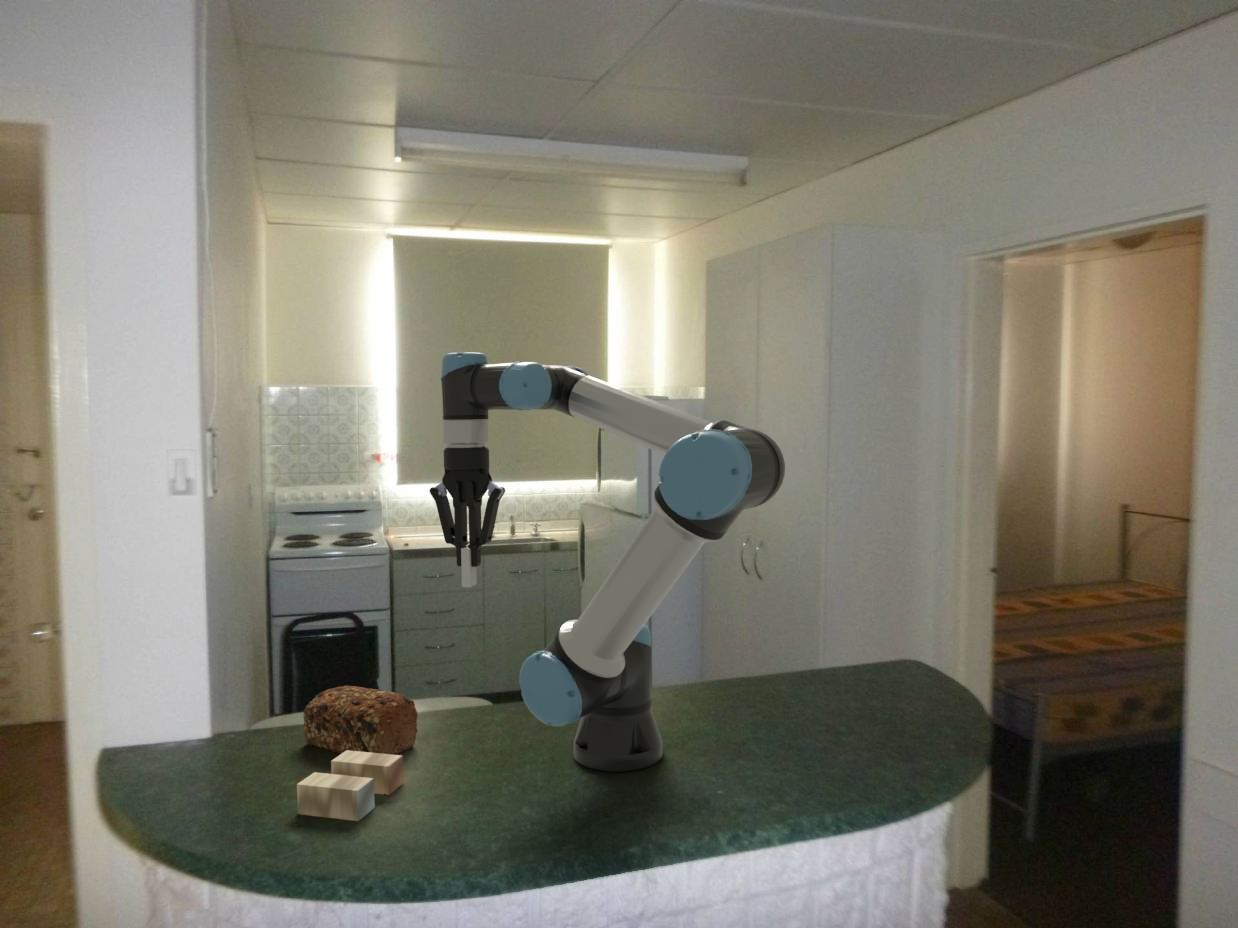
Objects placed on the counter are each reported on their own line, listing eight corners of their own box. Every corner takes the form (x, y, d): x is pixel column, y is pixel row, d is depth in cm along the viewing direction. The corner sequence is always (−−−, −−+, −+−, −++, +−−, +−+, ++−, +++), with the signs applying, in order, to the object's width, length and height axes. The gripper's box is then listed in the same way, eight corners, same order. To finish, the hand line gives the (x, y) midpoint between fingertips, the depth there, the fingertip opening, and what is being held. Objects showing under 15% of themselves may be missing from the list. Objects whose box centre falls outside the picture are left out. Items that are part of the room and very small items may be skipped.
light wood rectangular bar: (373, 778, 133) (314, 772, 136) (357, 790, 129) (296, 784, 131) (374, 807, 134) (315, 800, 136) (358, 821, 129) (297, 813, 132)
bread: (420, 746, 158) (418, 691, 157) (373, 767, 149) (371, 708, 148) (348, 727, 168) (347, 674, 168) (300, 745, 159) (299, 690, 159)
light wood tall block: (403, 755, 142) (346, 750, 144) (388, 766, 138) (331, 760, 140) (403, 783, 142) (347, 777, 145) (389, 794, 138) (331, 788, 140)
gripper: (511, 444, 152) (513, 582, 153) (440, 445, 155) (443, 580, 156) (494, 446, 145) (496, 591, 146) (420, 446, 148) (423, 588, 149)
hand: (469, 585), depth 151 cm, fingers closed
